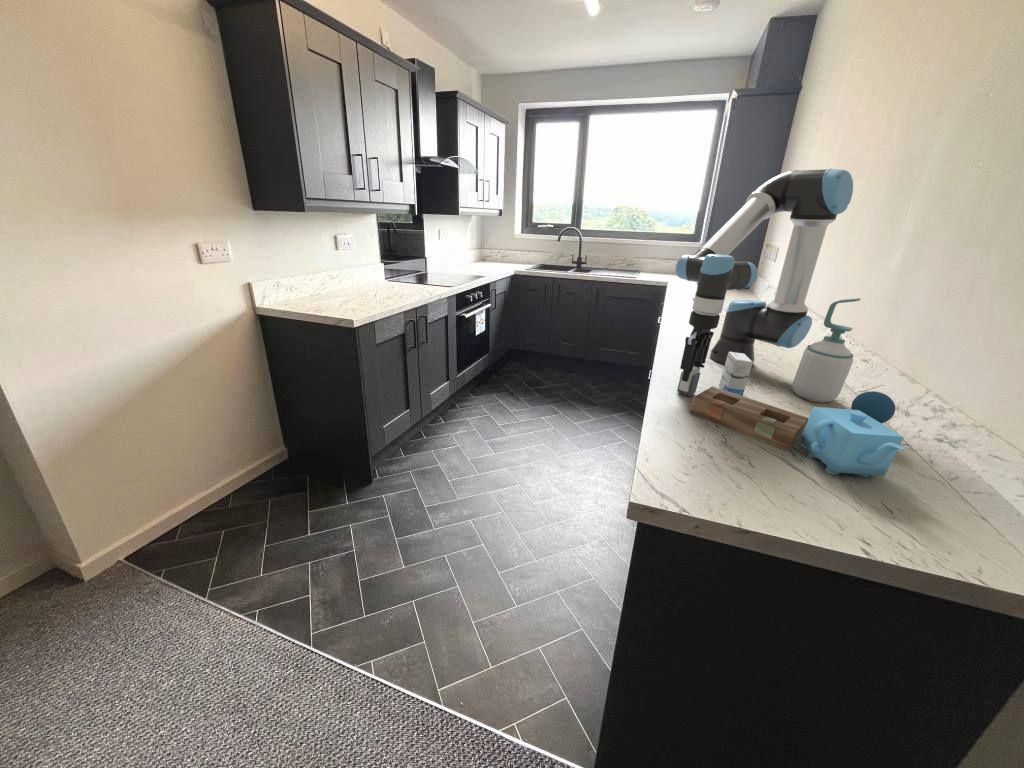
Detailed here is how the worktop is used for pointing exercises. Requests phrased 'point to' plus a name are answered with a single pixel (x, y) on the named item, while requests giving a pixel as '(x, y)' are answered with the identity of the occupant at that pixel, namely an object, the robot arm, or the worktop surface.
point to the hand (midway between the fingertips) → (687, 388)
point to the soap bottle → (824, 364)
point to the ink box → (735, 373)
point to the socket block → (750, 417)
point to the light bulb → (875, 405)
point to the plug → (693, 382)
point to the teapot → (850, 441)
